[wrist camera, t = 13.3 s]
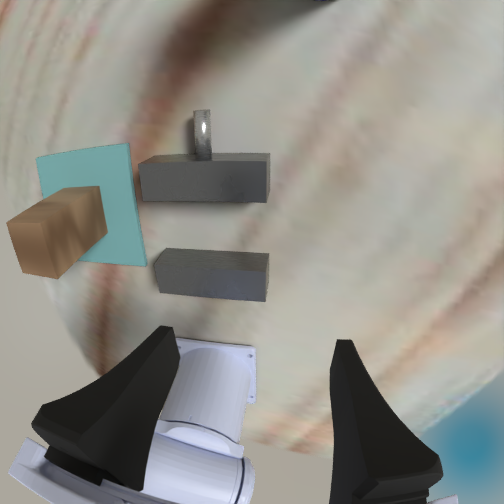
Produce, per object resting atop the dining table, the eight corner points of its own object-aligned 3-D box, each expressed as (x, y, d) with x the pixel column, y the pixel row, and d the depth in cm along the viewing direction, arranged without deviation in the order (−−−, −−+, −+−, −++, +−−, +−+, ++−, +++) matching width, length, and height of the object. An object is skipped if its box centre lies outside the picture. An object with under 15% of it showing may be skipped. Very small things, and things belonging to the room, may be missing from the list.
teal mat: (147, 263, 24) (145, 266, 24) (62, 256, 26) (59, 258, 25) (128, 143, 19) (126, 144, 19) (38, 157, 21) (35, 158, 20)
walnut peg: (108, 232, 23) (57, 279, 17) (73, 230, 23) (22, 272, 17) (99, 185, 21) (40, 223, 15) (63, 187, 21) (6, 222, 15)
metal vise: (268, 282, 23) (265, 301, 21) (170, 274, 24) (159, 292, 22) (269, 107, 17) (266, 108, 15) (151, 114, 18) (133, 117, 16)
